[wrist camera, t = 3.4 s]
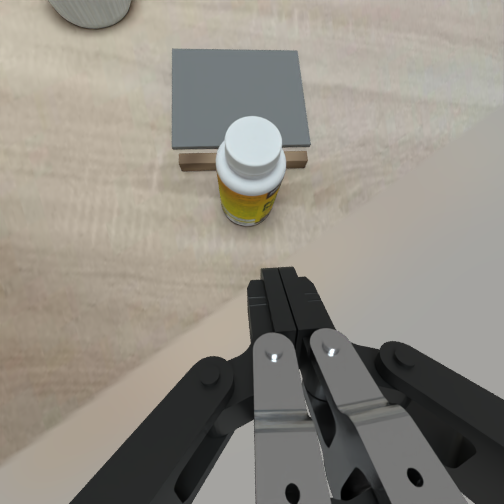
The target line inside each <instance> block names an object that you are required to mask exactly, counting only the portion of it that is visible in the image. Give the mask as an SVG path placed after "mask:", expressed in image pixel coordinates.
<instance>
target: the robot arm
mask: <svg viewBox="0 0 504 504" xmlns="http://www.w3.org/2000/svg"><path fill="white" fill-rule="evenodd" d="M247 299H248V301H247V302H248V319H249V329H250V339H251V344H250V346H249V348H248V349H247V350H246V351H245V352H244V353H243V354H241V355H240V356H238V357H235V358H233V359H231V360H228V361H226V360H225V359H223V358H221V357H216V356H210V357H206V358H203V359H201V360H200V361H198V362H197V363H196V364H195V365H194V366H193V367H192V368H191V369H190V370H189V371H188V372H187V373H186V374H185V376H184V377H183V378H182V379H181V380H180V381H179V382H178V383H177V385H176V386H175V387H174V388H173V389H172V390H171V391H170V392H169V393H168V394H167V396H166V397H165V398H164V399H163V400H162V401H161V402H160V403H159V404H158V406H157V407H156V408H155V409H154V410H153V411H152V412H151V413H150V414H149V416H148V417H147V418H146V419H145V420H144V421H143V422H142V423H141V424H140V426H139V427H138V428H137V429H136V430H135V431H134V432H133V433H132V434H131V436H130V437H129V438H128V439H127V440H126V441H125V442H124V443H123V444H122V445H121V447H120V448H119V449H118V450H117V451H116V452H115V453H114V454H113V455H112V457H111V458H110V459H109V460H108V461H107V462H106V463H105V464H104V466H103V467H102V468H101V469H100V470H99V471H98V472H97V473H96V475H94V477H93V478H92V479H91V480H90V481H89V482H88V483H87V484H86V485H85V487H84V488H83V489H82V490H81V491H80V492H79V493H78V494H77V495H76V497H75V498H74V499H73V500H72V501H71V502H70V503H69V504H192V502H193V500H194V498H195V497H196V495H197V493H198V492H199V490H200V488H201V486H202V485H203V483H204V482H205V480H206V478H207V476H208V475H209V473H210V472H211V470H212V468H213V467H214V465H215V463H216V461H217V460H218V458H219V456H220V454H221V453H222V451H223V450H224V448H225V446H226V445H227V443H228V441H229V439H230V438H231V436H232V435H233V433H234V431H235V429H237V428H239V427H241V426H243V425H244V424H246V423H248V422H250V421H252V420H254V438H255V440H254V441H255V487H256V488H255V494H256V504H468V503H467V501H466V500H465V498H464V497H463V495H462V494H461V493H463V494H464V495H465V496H466V497H468V498H469V499H470V500H471V501H472V502H474V503H475V504H504V400H503V399H501V398H500V397H498V396H496V395H494V394H493V393H491V392H489V391H487V390H486V389H484V388H482V387H480V386H479V385H477V384H475V383H473V382H472V381H470V380H468V379H467V378H465V377H463V376H461V375H460V374H458V373H456V372H454V371H453V370H451V369H449V368H447V367H445V366H444V365H442V364H440V363H439V362H437V361H435V360H433V359H432V358H430V357H428V356H426V355H424V354H423V353H421V352H419V351H418V350H416V349H414V348H412V347H411V346H409V345H406V344H404V343H400V342H396V341H390V342H386V343H384V344H383V345H382V346H381V348H380V350H379V349H374V348H370V347H365V346H360V345H356V344H353V343H351V342H350V341H349V340H348V338H347V337H346V336H345V335H343V334H342V333H340V332H339V331H336V329H335V327H334V325H333V323H332V321H331V319H330V317H329V315H328V313H327V311H326V309H325V306H324V305H323V302H322V301H321V298H320V296H319V294H318V293H317V290H316V288H315V286H314V284H313V283H312V282H311V281H310V280H309V279H307V278H306V277H298V276H297V273H296V271H295V269H294V267H278V268H263V269H261V280H251V281H250V283H249V285H248V287H247ZM299 369H300V371H301V374H302V378H303V380H302V384H301V378H300V373H299ZM304 397H305V399H304ZM305 400H306V403H307V406H308V409H309V412H310V415H311V417H309V415H308V413H307V409H306V405H305ZM316 433H317V434H316ZM317 436H318V439H319V441H320V445H321V448H322V451H323V457H324V467H325V471H324V467H323V462H322V457H321V452H320V448H319V443H318V439H317ZM325 472H326V476H325ZM326 477H327V480H328V483H329V487H330V490H331V493H332V496H333V498H330V495H329V490H328V486H327V481H326Z"/></svg>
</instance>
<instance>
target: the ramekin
mask: <svg viewBox="0 0 504 504" xmlns="http://www.w3.org/2000/svg"><path fill="white" fill-rule="evenodd" d="M48 1H49V2H50V3H51V5H52V6H53V7H54V8H55V10H56V11H57V12H58V13H59V14H60V15H61V16H62V17H63V18H65V19H66V20H68V21H70V22H71V23H73V24H75V25H77V26H80V27H84V28H91V29H97V28H104V27H108V26H111V25H113V24H115V23H117V22H119V21H120V20H121V19H122V18H123V17H124V16H125V15H126V13H127V12H128V10H129V7H130V3H131V0H48Z"/></svg>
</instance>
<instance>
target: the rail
mask: <svg viewBox="0 0 504 504" xmlns="http://www.w3.org/2000/svg"><path fill="white" fill-rule="evenodd" d="M284 154H285V157H286V168H304V167H305V165H306V163H307V161H308V158H307V151H284ZM216 155H217V153H185V154H179V165H180V167H181V170H182V171H201V170H216Z"/></svg>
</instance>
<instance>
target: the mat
mask: <svg viewBox="0 0 504 504" xmlns="http://www.w3.org/2000/svg"><path fill="white" fill-rule="evenodd" d="M248 116H257V117H261V118H264V119H267V120H268V121H270V122H271V123H273V124H274V125H275V126H276V127H277V129H278V130H279V132H280V134H281V137H282V147H310V145H311V143H310V136H309V129H308V122H307V115H306V108H305V101H304V94H303V87H302V80H301V73H300V66H299V59H298V52H297V51H289V50H224V49H172V148H173V149H208V148H219V147H220V145H221V144H222V142H223V141H224V140H225V135H226V132H227V130H228V128H229V127H230V125H231V124H232V123H234V122H235V121H236V120H238V119H240V118H243V117H248Z"/></svg>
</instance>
